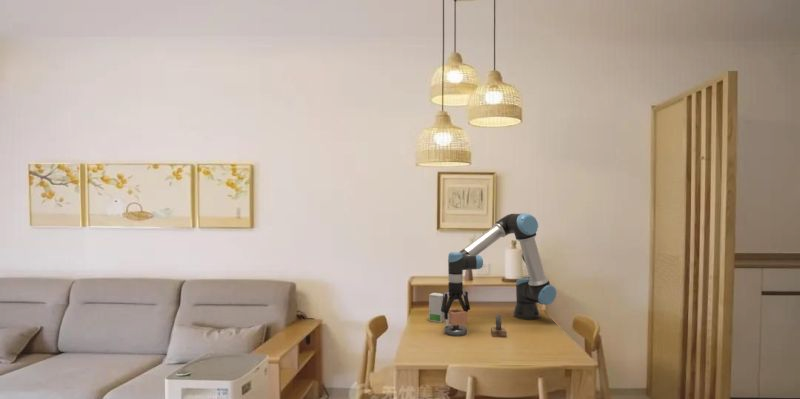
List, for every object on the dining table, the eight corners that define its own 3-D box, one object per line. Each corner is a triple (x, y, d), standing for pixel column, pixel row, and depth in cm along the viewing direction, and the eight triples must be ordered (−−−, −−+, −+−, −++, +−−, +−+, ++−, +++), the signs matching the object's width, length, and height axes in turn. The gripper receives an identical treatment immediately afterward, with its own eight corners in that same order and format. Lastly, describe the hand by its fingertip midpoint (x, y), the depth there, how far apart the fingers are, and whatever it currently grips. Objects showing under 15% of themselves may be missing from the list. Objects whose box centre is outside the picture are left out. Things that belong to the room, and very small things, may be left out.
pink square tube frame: (458, 319, 229) (458, 308, 229) (467, 323, 220) (467, 312, 220) (444, 321, 225) (444, 309, 225) (452, 325, 217) (452, 313, 217)
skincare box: (428, 321, 247) (428, 294, 247) (432, 318, 252) (432, 292, 253) (441, 322, 243) (441, 295, 243) (446, 320, 248) (445, 293, 249)
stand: (504, 333, 222) (504, 314, 222) (506, 337, 215) (506, 317, 215) (491, 332, 222) (490, 313, 223) (492, 336, 215) (492, 317, 216)
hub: (466, 329, 228) (466, 312, 228) (468, 336, 216) (467, 318, 216) (444, 329, 229) (444, 311, 229) (444, 336, 217) (444, 317, 218)
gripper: (469, 279, 231) (469, 320, 230) (433, 281, 223) (434, 324, 222) (476, 281, 224) (477, 324, 223) (440, 284, 216) (440, 328, 215)
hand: (455, 324), depth 223 cm, fingers closed on pink square tube frame, 9 cm apart
